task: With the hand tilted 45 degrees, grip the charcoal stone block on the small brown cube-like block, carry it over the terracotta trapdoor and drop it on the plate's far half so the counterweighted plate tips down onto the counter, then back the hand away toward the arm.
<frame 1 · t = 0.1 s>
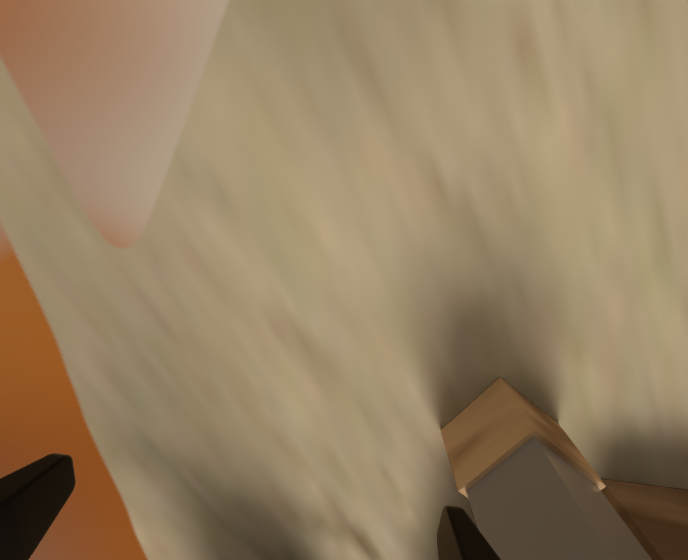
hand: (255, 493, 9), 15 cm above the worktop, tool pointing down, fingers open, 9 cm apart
stone: (531, 488, 20), point 5 cm above the worktop, touching brown cube-like block
brown cube-like block: (499, 427, 25), on the worktop
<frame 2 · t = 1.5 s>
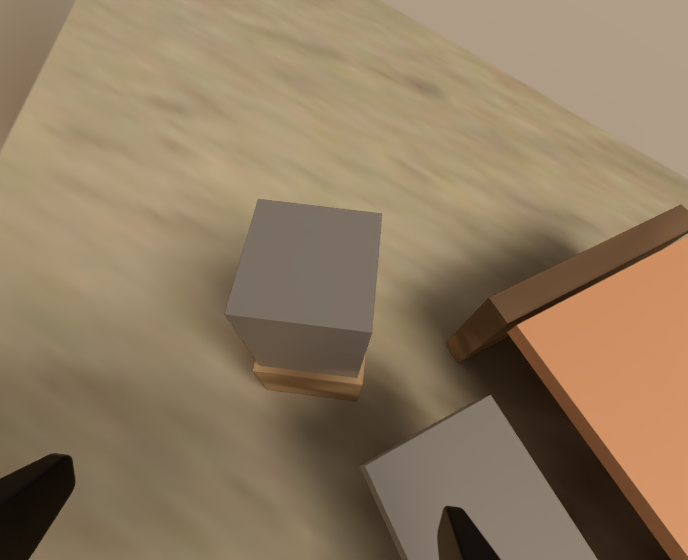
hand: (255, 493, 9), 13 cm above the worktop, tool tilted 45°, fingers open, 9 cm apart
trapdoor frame: (615, 419, 23), on the worktop
stone: (315, 325, 19), point 5 cm above the worktop, touching brown cube-like block
brown cube-like block: (318, 351, 24), on the worktop
trapdoor: (646, 450, 16), point 6 cm above the worktop, hinge at 0.0°
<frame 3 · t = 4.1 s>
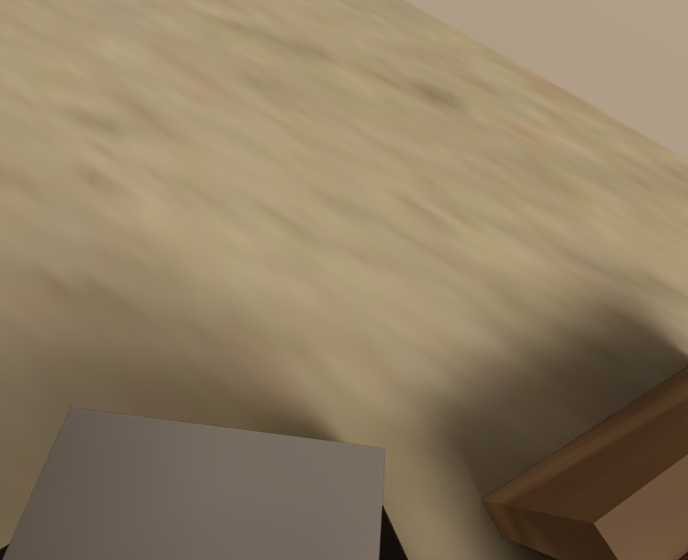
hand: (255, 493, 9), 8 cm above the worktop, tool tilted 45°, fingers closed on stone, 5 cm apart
stone: (263, 541, 11), point 5 cm above the worktop, touching gripper, brown cube-like block
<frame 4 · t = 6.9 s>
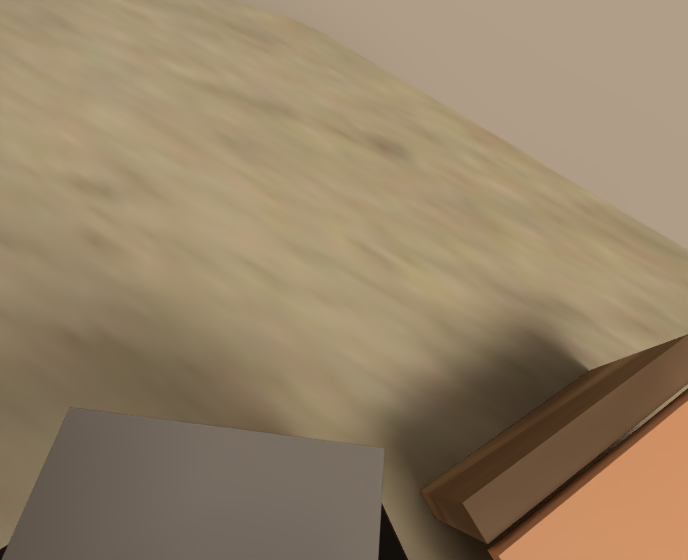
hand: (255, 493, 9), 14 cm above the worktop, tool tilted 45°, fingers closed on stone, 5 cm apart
stone: (263, 540, 11), point 10 cm above the worktop, touching gripper
when the fingers open (13 cm above the worktop, at t = 10.2 s): stone drops 5 cm, resting on trapdoor.
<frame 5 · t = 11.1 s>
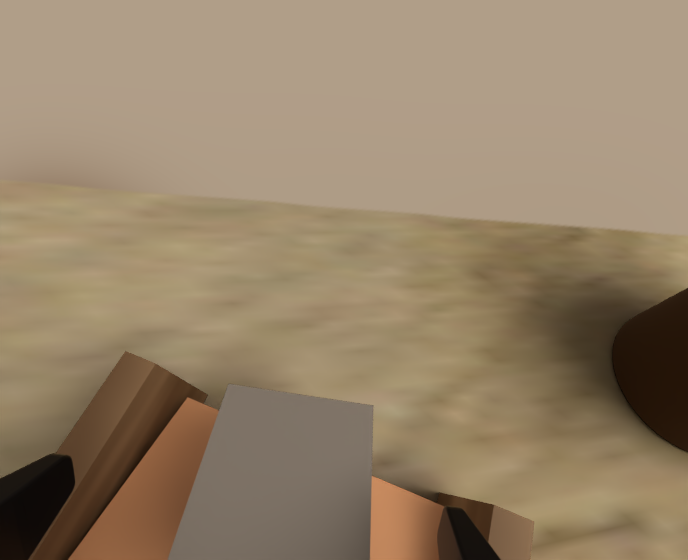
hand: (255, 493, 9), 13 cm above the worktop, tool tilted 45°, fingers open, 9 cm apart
stone: (280, 528, 15), point 4 cm above the worktop, tilted 19°, touching trapdoor
olive oil: (682, 379, 24), on the worktop
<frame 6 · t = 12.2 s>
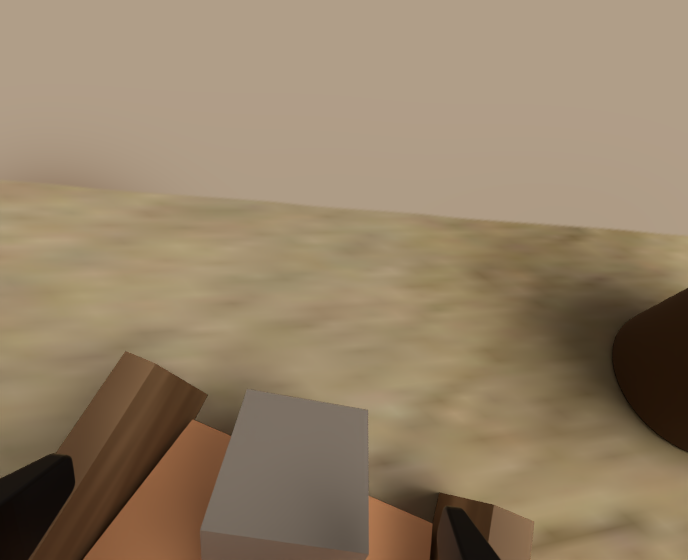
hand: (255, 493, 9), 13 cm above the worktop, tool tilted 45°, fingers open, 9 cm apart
stone: (278, 539, 17), point 3 cm above the worktop, tilted 29°, touching trapdoor
olive oil: (682, 379, 24), on the worktop
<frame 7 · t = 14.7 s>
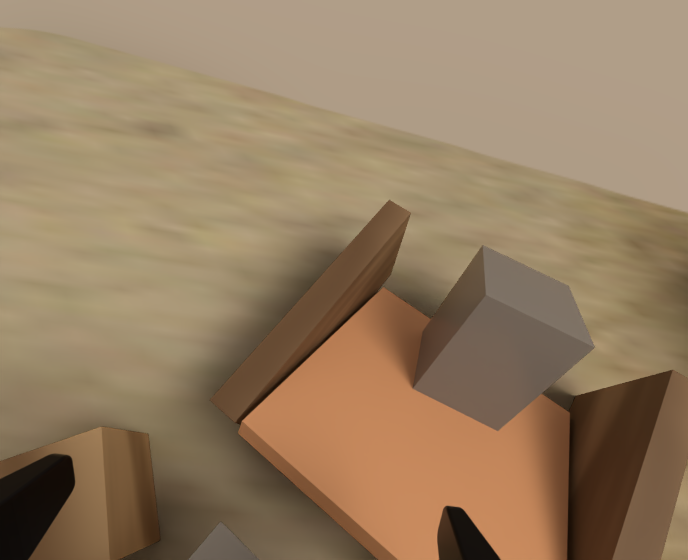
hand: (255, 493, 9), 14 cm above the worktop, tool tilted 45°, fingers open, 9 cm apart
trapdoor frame: (425, 414, 23), on the worktop
stone: (456, 376, 21), point 3 cm above the worktop, tilted 30°, touching trapdoor
brown cube-like block: (101, 503, 20), on the worktop
trapdoor: (392, 502, 16), point 5 cm above the worktop, hinge at -30.3°, touching stone
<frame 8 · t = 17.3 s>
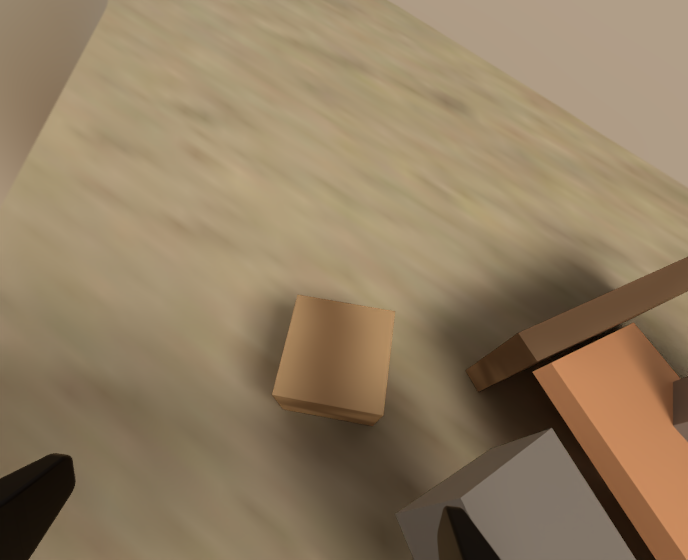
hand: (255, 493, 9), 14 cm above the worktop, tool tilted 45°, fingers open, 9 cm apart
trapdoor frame: (641, 460, 22), on the worktop
brown cube-like block: (335, 372, 24), on the worktop
trapdoor: (644, 511, 16), point 5 cm above the worktop, hinge at -30.3°, touching stone
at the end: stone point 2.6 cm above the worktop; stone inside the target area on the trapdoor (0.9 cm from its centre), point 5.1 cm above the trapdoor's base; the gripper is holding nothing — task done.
